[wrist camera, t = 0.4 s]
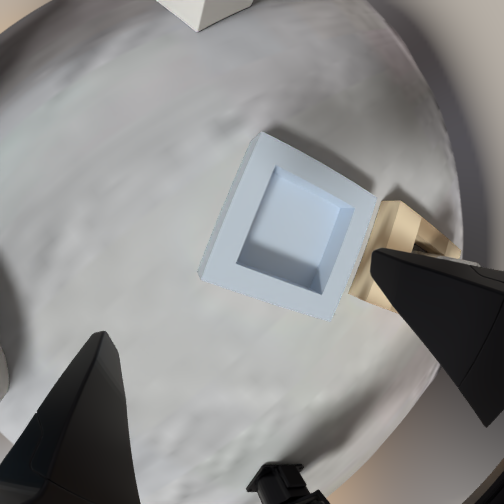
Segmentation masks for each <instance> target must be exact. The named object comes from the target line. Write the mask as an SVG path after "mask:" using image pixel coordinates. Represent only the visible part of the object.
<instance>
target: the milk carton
mask: <svg viewBox="0 0 504 504" xmlns="http://www.w3.org/2000/svg"><path fill="white" fill-rule="evenodd" d="M156 1H157V2H159V3H160V4H161V5H163V6H164V7H165V8H167V9H168V10H169V11H171V12H172V13H173V14H174V15H176V16H177V17H178V18H180V19H181V20H182V21H183V22H185V23H186V24H187V25H188V26H189V27H191V28H192V29H193V30H194V31H196V32H199V31H200V30H202V29H204V28H206V27H208V26H210V25H212V24H213V23H215V22H217V21H219V20H221V19H223V18H226V17H228V16H230V15H232V14H234V13H236V12H238V11H241V10H243V9H245V8H247V7H250V6H251V4H252V2H253V0H156Z"/></svg>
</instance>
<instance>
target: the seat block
mask: <svg viewBox="0 0 504 504" xmlns="http://www.w3.org/2000/svg"><path fill="white" fill-rule="evenodd" d="M376 201H377V197H376V196H374V195H373V194H371V193H370V192H368V191H366V190H365V189H363V188H362V187H360V186H359V185H357V184H356V183H354V182H352V181H351V180H349V179H348V178H346V177H344V176H343V175H341V174H339V173H338V172H336V171H334V170H333V169H331V168H329V167H328V166H326V165H324V164H322V163H321V162H319V161H317V160H315V159H314V158H312V157H310V156H308V155H307V154H305V153H303V152H301V151H299V150H297V149H296V148H294V147H292V146H290V145H288V144H286V143H284V142H282V141H280V140H278V139H276V138H274V137H272V136H270V135H268V134H266V133H264V132H260V133H259V134H258V135H257V136H256V137H255V138H254V139H252V140H251V142H250V145H249V147H248V149H247V151H246V154H245V156H244V158H243V161H242V163H241V165H240V167H239V170H238V172H237V174H236V177H235V179H234V181H233V184H232V186H231V189H230V191H229V193H228V196H227V198H226V201H225V203H224V205H223V208H222V210H221V213H220V215H219V218H218V220H217V223H216V225H215V228H214V230H213V233H212V235H211V238H210V240H209V243H208V245H207V248H206V250H205V253H204V256H203V258H202V261H201V263H200V266H199V269H198V271H197V272H198V274H199V277H200V279H201V280H202V281H205V282H208V283H211V284H214V285H217V286H220V287H222V288H225V289H228V290H231V291H234V292H237V293H240V294H243V295H246V296H249V297H252V298H255V299H258V300H261V301H264V302H267V303H271V304H274V305H277V306H280V307H283V308H286V309H289V310H293V311H296V312H299V313H302V314H306V315H309V316H312V317H316V318H319V319H322V320H326V321H329V322H331V320H332V317H333V315H334V313H335V311H336V308H337V306H338V304H339V301H340V299H341V296H342V294H343V292H344V289H345V287H346V284H347V282H348V279H349V277H350V274H351V272H352V269H353V267H354V264H355V261H356V259H357V256H358V253H359V251H360V248H361V245H362V242H363V240H364V237H365V234H366V231H367V228H368V225H369V222H370V219H371V216H372V213H373V210H374V207H375V204H376Z"/></svg>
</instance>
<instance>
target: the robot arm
mask: <svg viewBox="0 0 504 504" xmlns="http://www.w3.org/2000/svg"><path fill="white" fill-rule="evenodd" d="M370 274H371V277H372V278H373V280H374V281H375V282H376V284H377V285H378V287H379V288H380V289H381V291H382V292H383V293H384V295H385V296H386V298H387V299H388V300H389V302H390V303H391V305H392V306H393V307H394V308H395V310H396V311H397V312H398V313H399V314H400V316H401V317H402V318H403V319H404V320H405V321H406V323H407V324H408V325H409V326H410V327H411V329H412V330H413V331H414V332H415V333H416V335H417V336H418V337H419V338H420V340H421V341H422V342H423V343H424V344H425V346H426V347H427V348H428V349H429V351H430V352H431V353H432V354H433V356H434V357H435V358H436V360H437V361H438V362H439V363H440V365H441V366H442V367H443V369H444V370H445V371H446V373H447V374H448V375H449V376H450V378H451V379H452V380H453V382H454V383H455V384H456V386H457V387H458V389H459V390H460V392H461V393H462V394H463V396H464V397H465V398H466V400H467V401H468V403H469V404H470V406H471V407H472V408H473V410H474V411H475V413H476V414H477V416H478V417H479V419H480V420H481V422H482V423H483V425H484V426H485V427H486V428H487V427H488V426H489V425H490V424H491V423H492V422H493V421H494V420H495V419H496V418H497V416H498V415H499V414H500V413H501V412H502V411H503V410H504V271H499V270H494V269H488V268H483V267H478V266H474V265H468V264H464V263H459V262H454V261H450V260H445V259H440V258H435V257H430V256H425V255H420V254H414V253H409V252H404V251H399V250H393V249H388V248H379V249H376V250H374V251H373V252H372V254H371V264H370ZM303 468H304V466H303V465H302V464H297V465H264V466H262V467H261V469H260V470H259V472H258V473H257V474H256V476H255V477H254V479H253V480H252V481H251V483H250V484H249V485H248V487H247V488H246V490H247V492H257V493H258V495H259V498H260V500H261V502H262V504H330V503H329V501H328V500H327V499H326V498H325V497H324V495H323V494H322V493H321V492H320V490H317V491H315V492H313V493H311V494H310V492H309V491H308V489H307V487H306V483H305V481H304V480H303V478H302V476H301V475H300V472H301V470H302V469H303ZM0 504H141V503H140V499H139V494H138V489H137V484H136V479H135V473H134V467H133V460H132V454H131V446H130V438H129V429H128V418H127V406H126V397H125V391H124V385H123V379H122V372H121V365H120V358H119V353H118V351H117V349H116V347H115V345H114V344H113V342H112V340H111V338H110V337H109V335H108V333H107V332H106V331H100V332H96V333H93V334H92V335H91V337H90V338H89V339H88V341H87V342H86V343H85V344H84V346H83V347H82V348H81V350H80V351H79V352H78V354H77V355H76V356H75V358H74V359H73V360H72V362H71V363H70V364H69V366H68V367H67V368H66V370H65V371H64V373H63V374H62V375H61V377H60V378H59V379H58V381H57V382H56V384H55V385H54V387H53V388H52V389H51V391H50V392H49V394H48V395H47V397H46V398H45V400H44V401H43V403H42V404H41V406H40V407H39V409H38V410H37V413H35V415H34V416H33V418H32V419H31V421H30V422H29V424H28V425H27V427H26V428H25V430H24V431H23V433H22V434H21V436H20V437H19V439H18V440H17V441H16V443H15V444H14V446H13V447H12V449H11V450H10V451H9V453H8V454H7V455H6V457H5V458H4V460H3V461H2V463H1V464H0ZM462 504H504V458H503V459H502V461H501V462H500V463H499V464H498V466H497V467H496V468H495V469H494V470H493V472H492V473H491V474H490V475H489V476H488V477H487V479H486V480H485V481H484V482H483V483H482V484H481V485H480V486H479V487H478V488H477V489H476V490H475V491H474V492H473V493H472V494H471V495H470V496H469V498H467V499H466V500H465V501H464V502H463V503H462Z"/></svg>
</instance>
